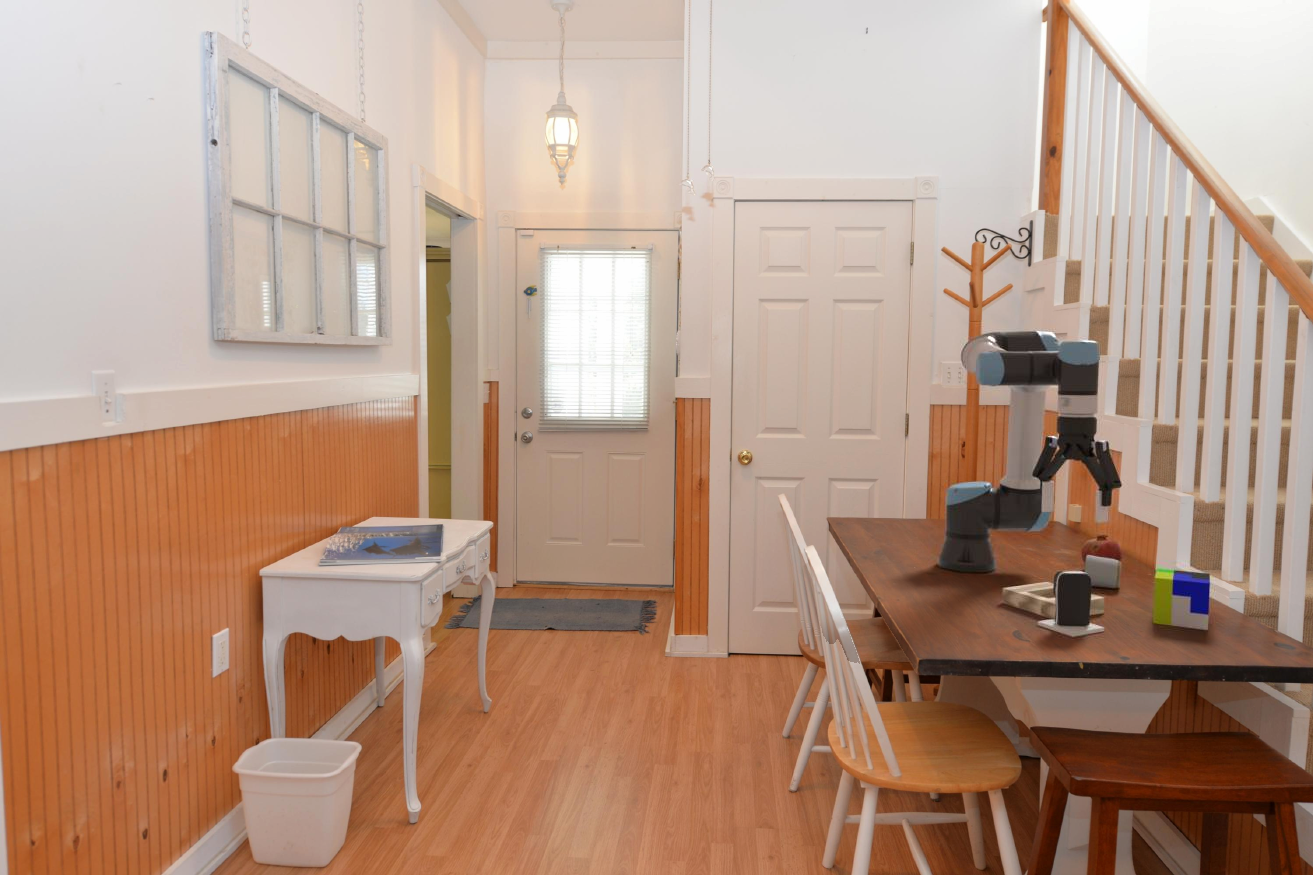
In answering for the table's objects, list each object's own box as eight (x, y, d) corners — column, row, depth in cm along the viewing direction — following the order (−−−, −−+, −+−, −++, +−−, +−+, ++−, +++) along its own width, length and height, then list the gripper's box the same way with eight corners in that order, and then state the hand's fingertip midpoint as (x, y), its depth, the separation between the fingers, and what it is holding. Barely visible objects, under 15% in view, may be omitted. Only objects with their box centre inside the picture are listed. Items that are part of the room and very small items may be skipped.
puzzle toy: (1207, 630, 183) (1209, 583, 182) (1153, 623, 188) (1154, 577, 188) (1207, 618, 192) (1209, 573, 191) (1155, 612, 197) (1157, 568, 196)
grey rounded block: (1120, 591, 214) (1121, 560, 214) (1083, 588, 218) (1084, 557, 218) (1120, 583, 223) (1121, 553, 223) (1085, 579, 227) (1086, 550, 227)
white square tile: (1037, 625, 188) (1037, 621, 187) (1068, 619, 191) (1068, 616, 191) (1072, 636, 179) (1072, 632, 179) (1104, 631, 183) (1104, 627, 183)
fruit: (1112, 578, 228) (1114, 540, 227) (1073, 571, 235) (1075, 535, 234) (1129, 571, 235) (1130, 534, 234) (1090, 565, 242) (1091, 529, 241)
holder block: (1002, 602, 205) (1002, 588, 205) (1046, 596, 211) (1046, 581, 210) (1058, 620, 191) (1058, 604, 190) (1104, 612, 196) (1104, 597, 196)
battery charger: (1083, 621, 187) (1084, 568, 186) (1091, 626, 183) (1093, 573, 182) (1050, 621, 188) (1051, 568, 187) (1057, 626, 184) (1058, 573, 183)
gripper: (1016, 413, 191) (1014, 508, 193) (1116, 419, 169) (1113, 528, 171) (1042, 411, 194) (1039, 506, 196) (1144, 418, 172) (1139, 524, 174)
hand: (1073, 516), depth 183 cm, fingers open, 13 cm apart
